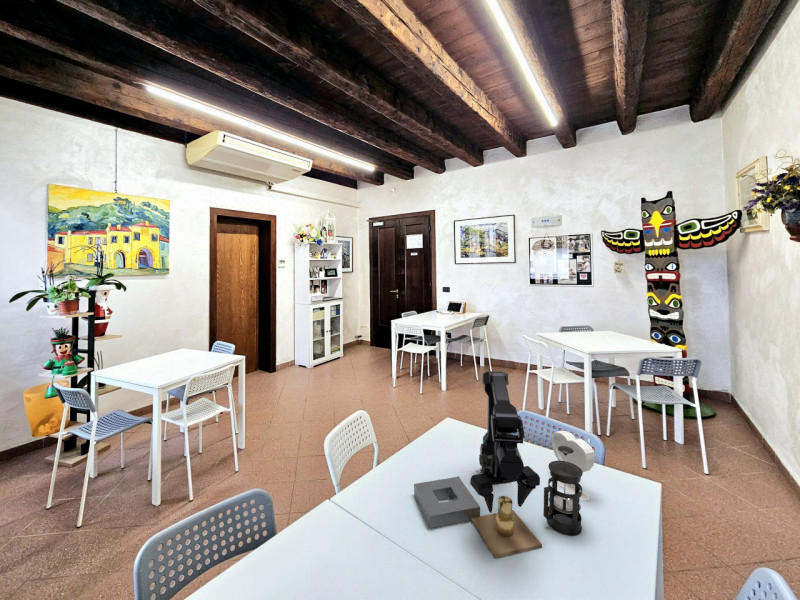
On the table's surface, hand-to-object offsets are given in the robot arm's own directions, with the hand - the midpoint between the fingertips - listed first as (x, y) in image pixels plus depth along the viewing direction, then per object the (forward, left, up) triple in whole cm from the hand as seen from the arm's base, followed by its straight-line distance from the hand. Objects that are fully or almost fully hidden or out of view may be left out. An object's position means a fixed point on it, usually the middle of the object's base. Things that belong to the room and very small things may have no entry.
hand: (504, 508), depth 97 cm
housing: (+12, -15, -7) cm, 21 cm away
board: (0, 0, -7) cm, 7 cm away
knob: (0, 0, -6) cm, 6 cm away
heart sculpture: (-33, -13, -8) cm, 36 cm away
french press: (-18, +1, -8) cm, 20 cm away
